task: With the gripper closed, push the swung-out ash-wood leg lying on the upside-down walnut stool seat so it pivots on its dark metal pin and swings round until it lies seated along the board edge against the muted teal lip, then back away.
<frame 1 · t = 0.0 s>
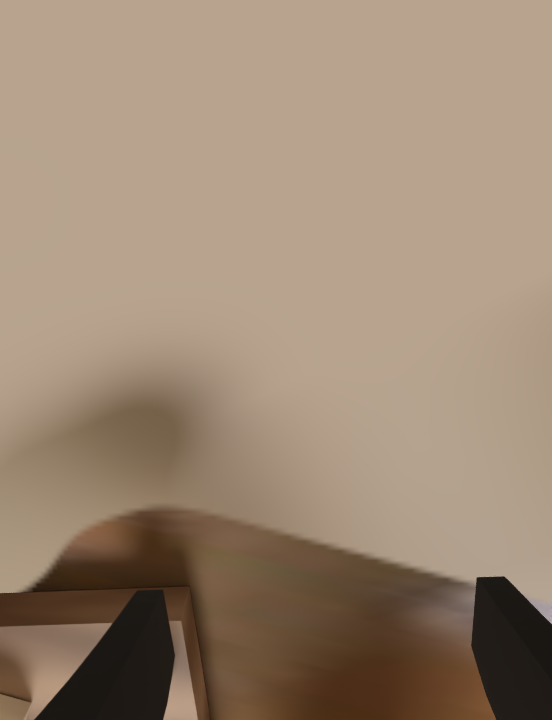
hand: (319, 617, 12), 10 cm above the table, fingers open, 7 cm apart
stool seat: (29, 703, 27), on the table
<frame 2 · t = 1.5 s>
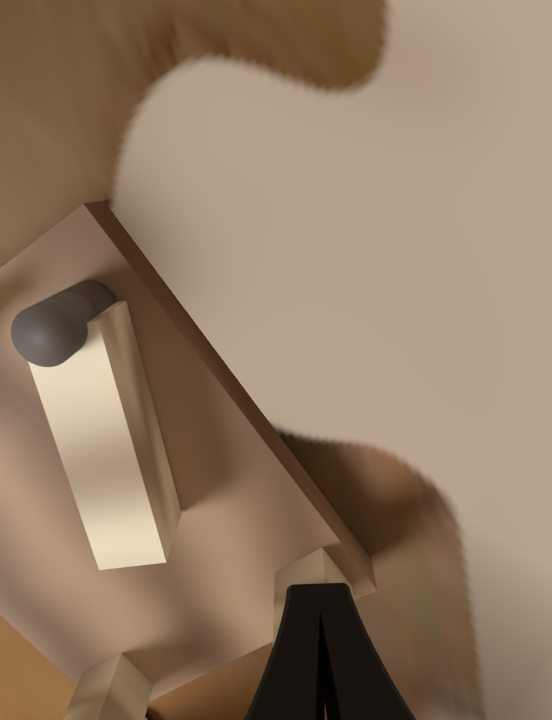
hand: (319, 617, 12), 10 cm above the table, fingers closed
stool leg: (104, 432, 17), point 4 cm above the table, hinge at 65.0°
stool seat: (116, 484, 23), on the table
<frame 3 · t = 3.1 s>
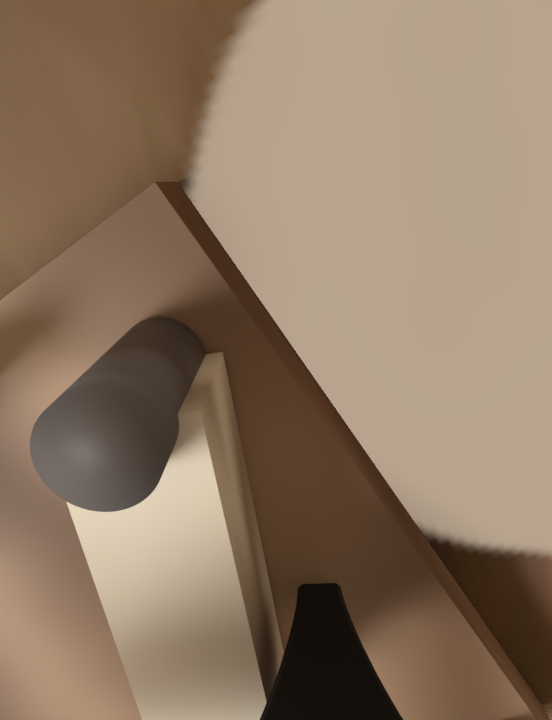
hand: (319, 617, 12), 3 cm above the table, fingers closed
stool leg: (187, 585, 10), point 4 cm above the table, hinge at 64.9°, touching gripper
stool seat: (177, 609, 15), on the table
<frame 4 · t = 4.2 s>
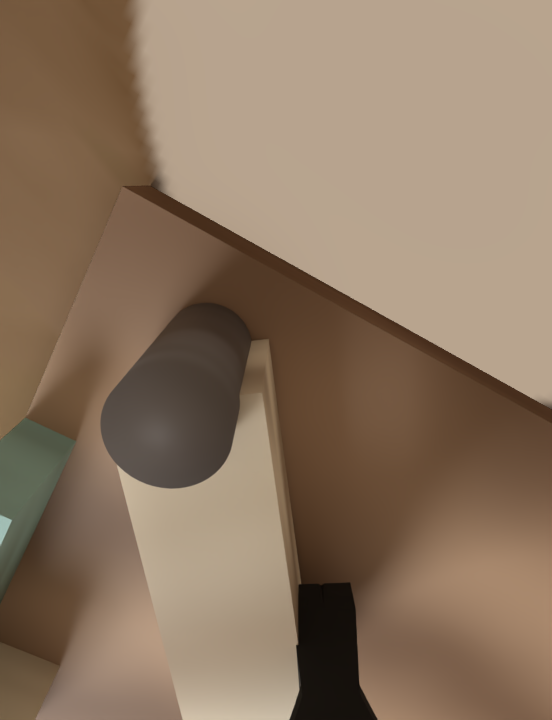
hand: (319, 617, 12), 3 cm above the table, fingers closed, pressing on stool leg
stool leg: (228, 570, 10), point 4 cm above the table, hinge at 35.6°, touching gripper
stool seat: (344, 585, 15), on the table
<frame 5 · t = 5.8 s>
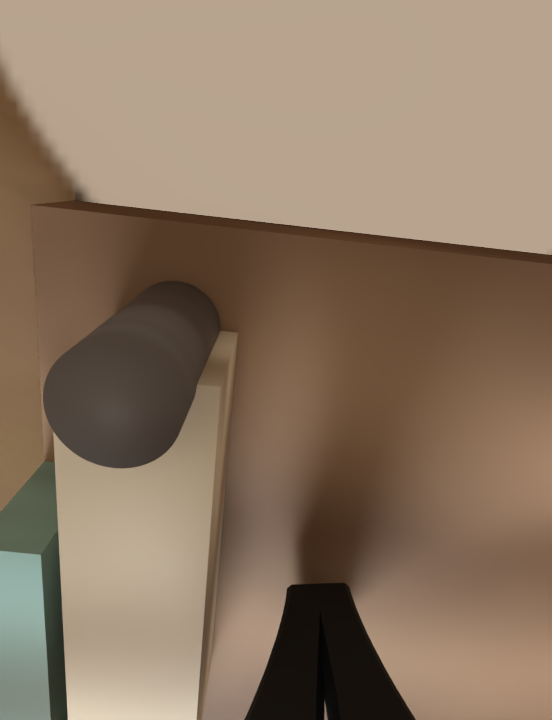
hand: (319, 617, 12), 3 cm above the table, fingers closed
stool leg: (146, 557, 10), point 4 cm above the table, hinge at 0.3°
stool seat: (429, 522, 14), on the table
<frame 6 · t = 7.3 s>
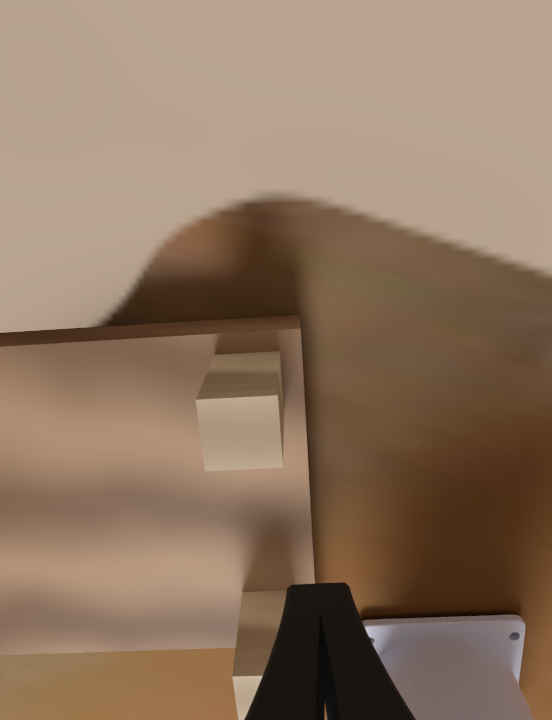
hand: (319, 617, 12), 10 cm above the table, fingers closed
stool seat: (95, 488, 23), on the table
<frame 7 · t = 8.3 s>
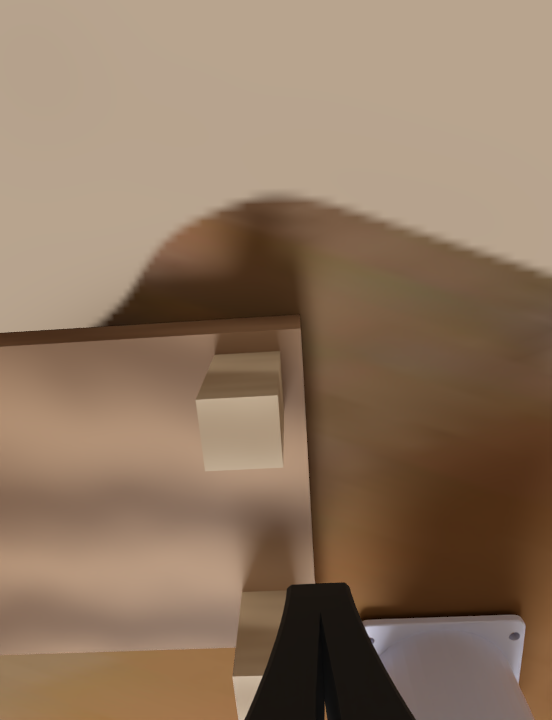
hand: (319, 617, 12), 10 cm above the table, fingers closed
stool seat: (95, 488, 23), on the table
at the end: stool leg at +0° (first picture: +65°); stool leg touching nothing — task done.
